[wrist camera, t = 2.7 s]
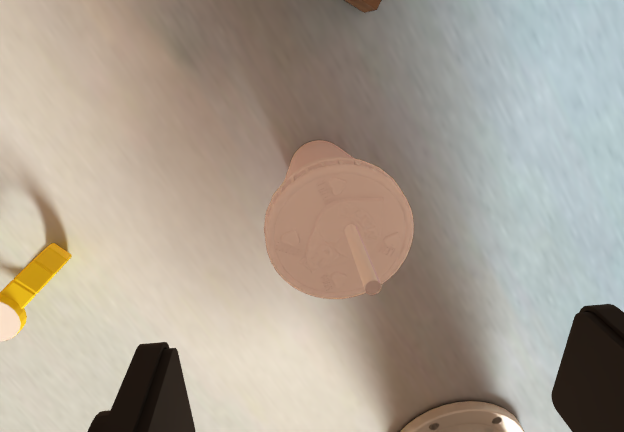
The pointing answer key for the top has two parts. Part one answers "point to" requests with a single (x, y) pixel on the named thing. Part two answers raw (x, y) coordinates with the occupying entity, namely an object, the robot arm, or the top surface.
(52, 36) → the top surface
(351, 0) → the walnut base
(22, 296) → the watch
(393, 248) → the smoothie
